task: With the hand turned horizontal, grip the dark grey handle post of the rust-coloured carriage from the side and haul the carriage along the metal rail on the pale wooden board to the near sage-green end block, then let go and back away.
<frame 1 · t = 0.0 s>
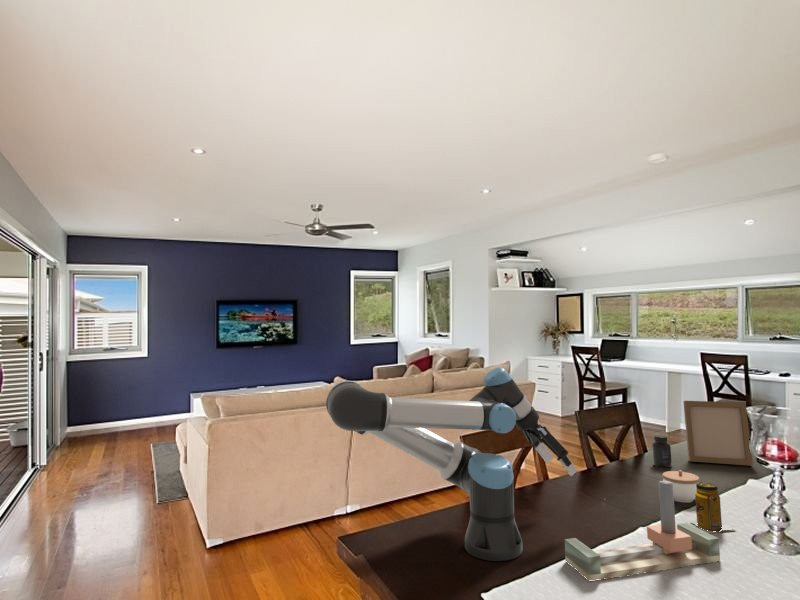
hand: (561, 466, 150), 15 cm above the table, tool tilted 35°, fingers open, 13 cm apart
condiment: (712, 528, 140), on the table
photo frame: (717, 461, 205), on the table
carriage: (667, 515, 123), point 10 cm above the table, slide at 8.0 cm
lidded jar: (681, 500, 162), on the table
supplement bottle: (662, 466, 200), on the table
rail track: (642, 561, 121), on the table
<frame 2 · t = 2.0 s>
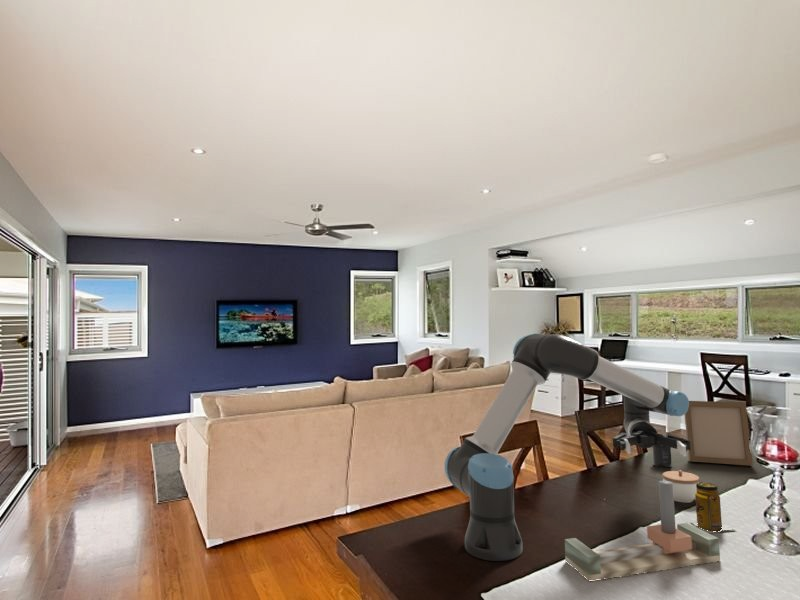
hand: (656, 450, 133), 24 cm above the table, tool horizontal, fingers open, 13 cm apart
nothing on the table moved.
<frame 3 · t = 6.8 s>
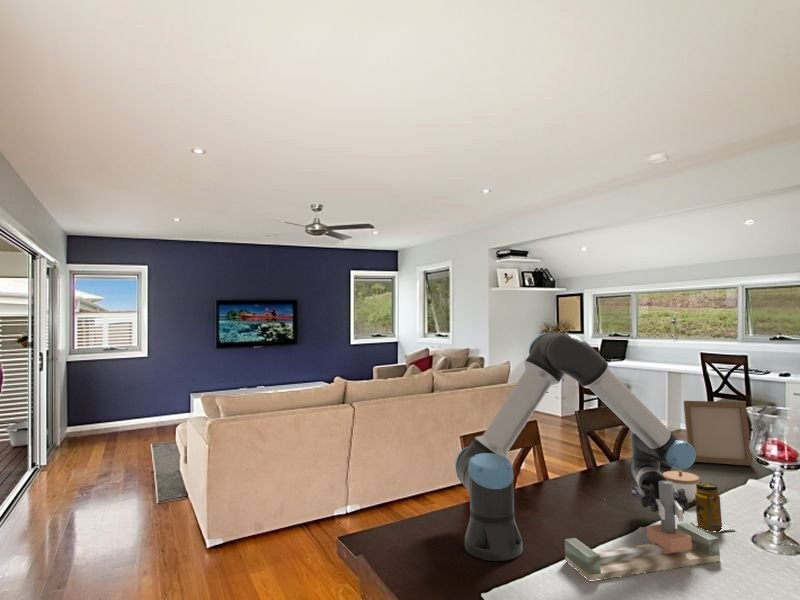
hand: (672, 514, 118), 12 cm above the table, tool horizontal, fingers closed on carriage, 3 cm apart
carriage: (667, 515, 123), point 10 cm above the table, slide at 8.0 cm, touching gripper
everything else where it was.
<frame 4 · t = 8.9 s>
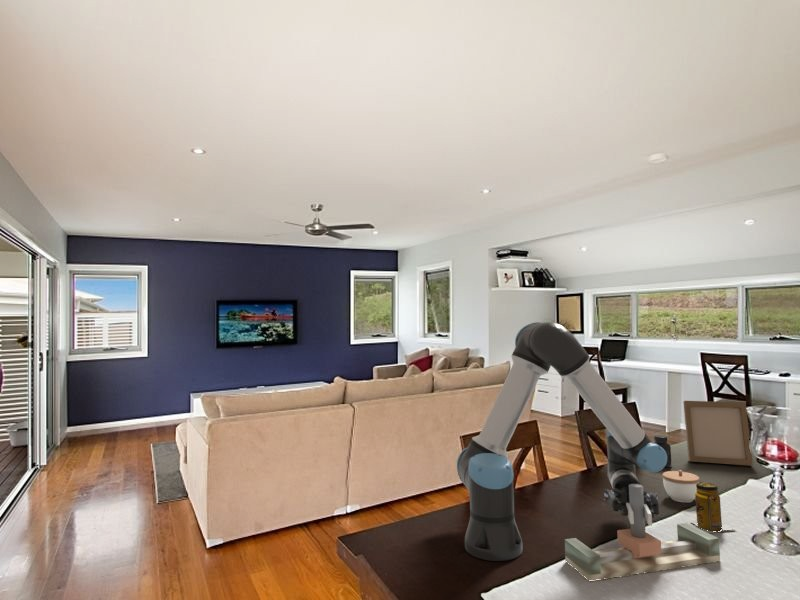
hand: (640, 518, 116), 12 cm above the table, tool horizontal, fingers closed on carriage, 3 cm apart
carriage: (637, 519, 121), point 10 cm above the table, slide at -0.7 cm, touching gripper
everything else where it was.
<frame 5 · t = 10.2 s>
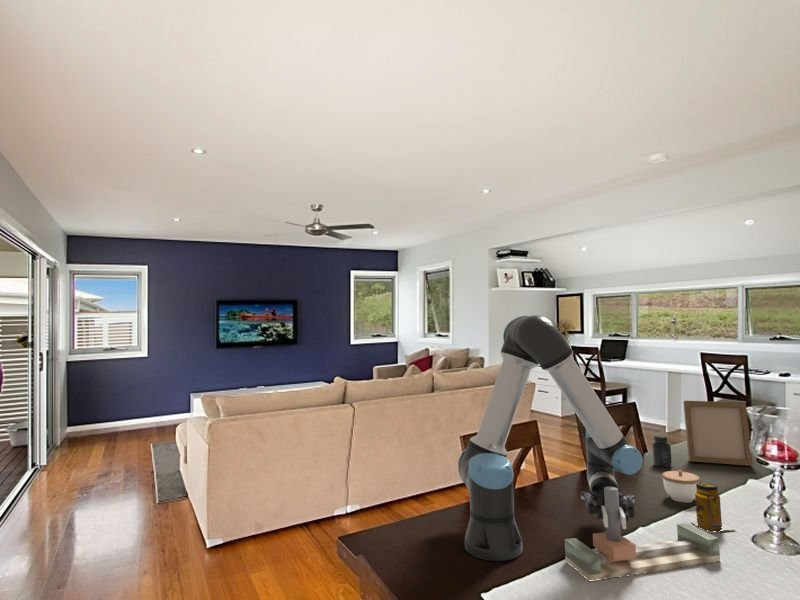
hand: (615, 522, 114), 12 cm above the table, tool horizontal, fingers closed on carriage, 3 cm apart
carriage: (612, 522, 120), point 10 cm above the table, slide at -7.7 cm, touching gripper
everything else where it was.
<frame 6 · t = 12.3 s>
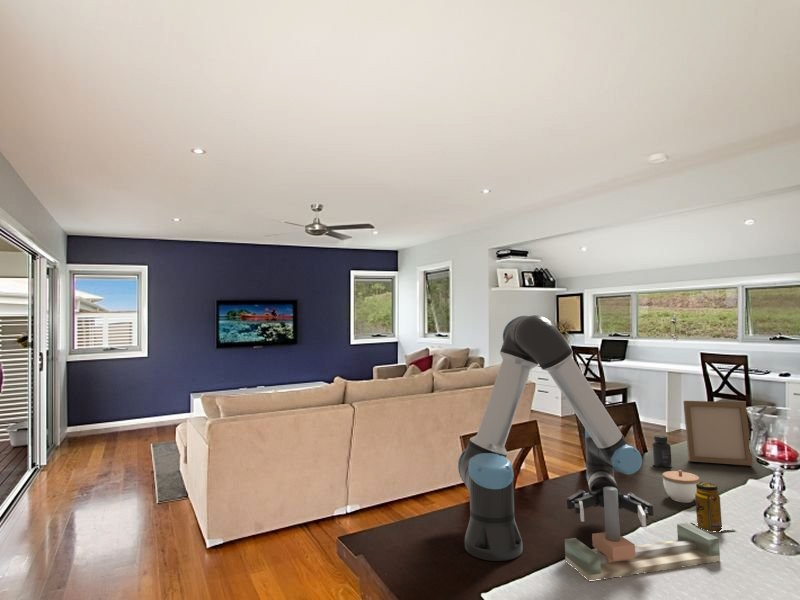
hand: (612, 518, 117), 13 cm above the table, tool horizontal, fingers open, 13 cm apart
carriage: (612, 522, 120), point 10 cm above the table, slide at -7.9 cm
everything else where it was.
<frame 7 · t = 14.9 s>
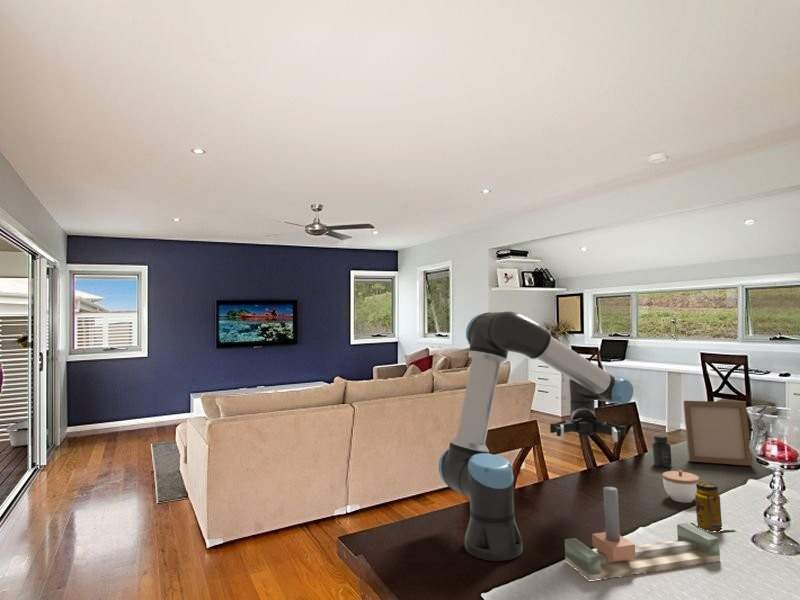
hand: (588, 435, 133), 29 cm above the table, tool horizontal, fingers open, 13 cm apart
nothing on the table moved.
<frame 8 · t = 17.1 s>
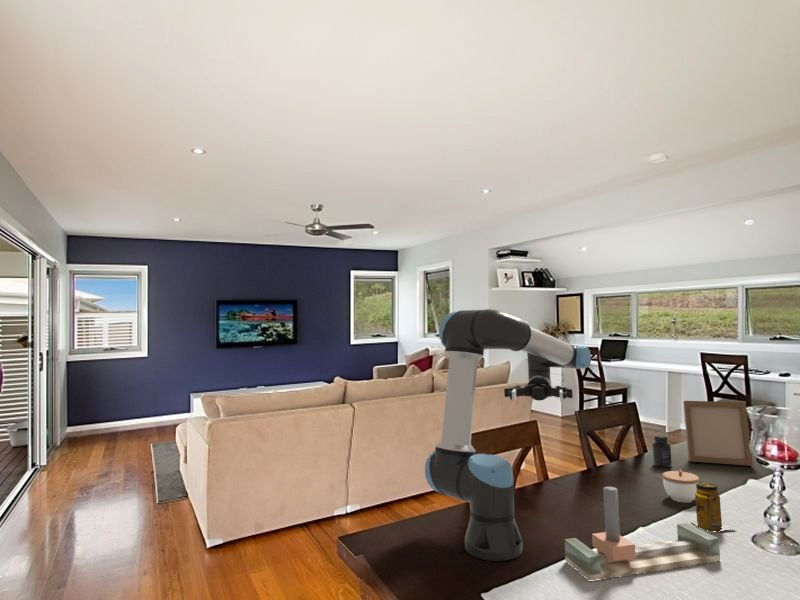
hand: (537, 396, 143), 38 cm above the table, tool horizontal, fingers open, 13 cm apart
nothing on the table moved.
at the end: carriage slide at -7.9 cm; condiment moved 0.3 cm from its start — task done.
